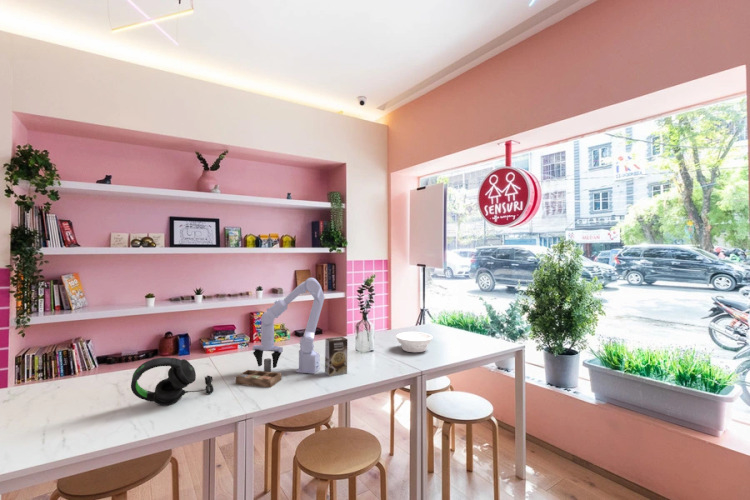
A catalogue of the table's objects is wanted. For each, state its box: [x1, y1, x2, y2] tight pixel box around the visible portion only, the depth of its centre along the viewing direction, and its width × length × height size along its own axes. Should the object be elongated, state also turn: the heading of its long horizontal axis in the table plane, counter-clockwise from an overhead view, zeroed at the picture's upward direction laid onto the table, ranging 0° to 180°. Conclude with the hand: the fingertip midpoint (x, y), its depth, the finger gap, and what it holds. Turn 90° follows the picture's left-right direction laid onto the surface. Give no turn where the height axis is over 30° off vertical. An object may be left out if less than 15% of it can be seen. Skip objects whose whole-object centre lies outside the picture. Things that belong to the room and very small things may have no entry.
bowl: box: [395, 331, 434, 353], centre depth 201 cm, size 21×21×8 cm
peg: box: [263, 357, 272, 372], centre depth 161 cm, size 3×3×6 cm
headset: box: [130, 356, 215, 407], centre depth 132 cm, size 18×14×29 cm
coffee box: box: [324, 336, 348, 377], centre depth 162 cm, size 9×6×16 cm
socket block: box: [235, 369, 282, 388], centre depth 151 cm, size 17×9×3 cm, turn 77°
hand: (267, 366), depth 161 cm, fingers open, 7 cm apart
